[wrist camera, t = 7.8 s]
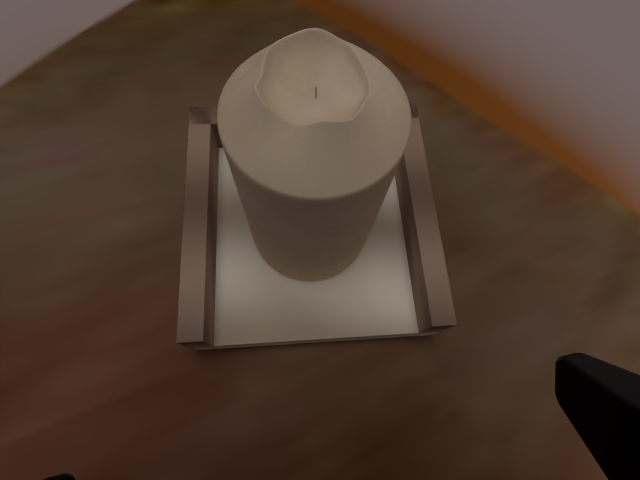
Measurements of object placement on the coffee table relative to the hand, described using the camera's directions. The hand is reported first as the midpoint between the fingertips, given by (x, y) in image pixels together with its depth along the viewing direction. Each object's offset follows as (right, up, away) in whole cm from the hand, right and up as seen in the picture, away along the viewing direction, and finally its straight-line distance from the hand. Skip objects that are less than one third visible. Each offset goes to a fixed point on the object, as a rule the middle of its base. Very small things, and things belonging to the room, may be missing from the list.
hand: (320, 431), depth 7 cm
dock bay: (-1, +4, +13) cm, 14 cm away
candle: (-1, +4, +12) cm, 13 cm away
